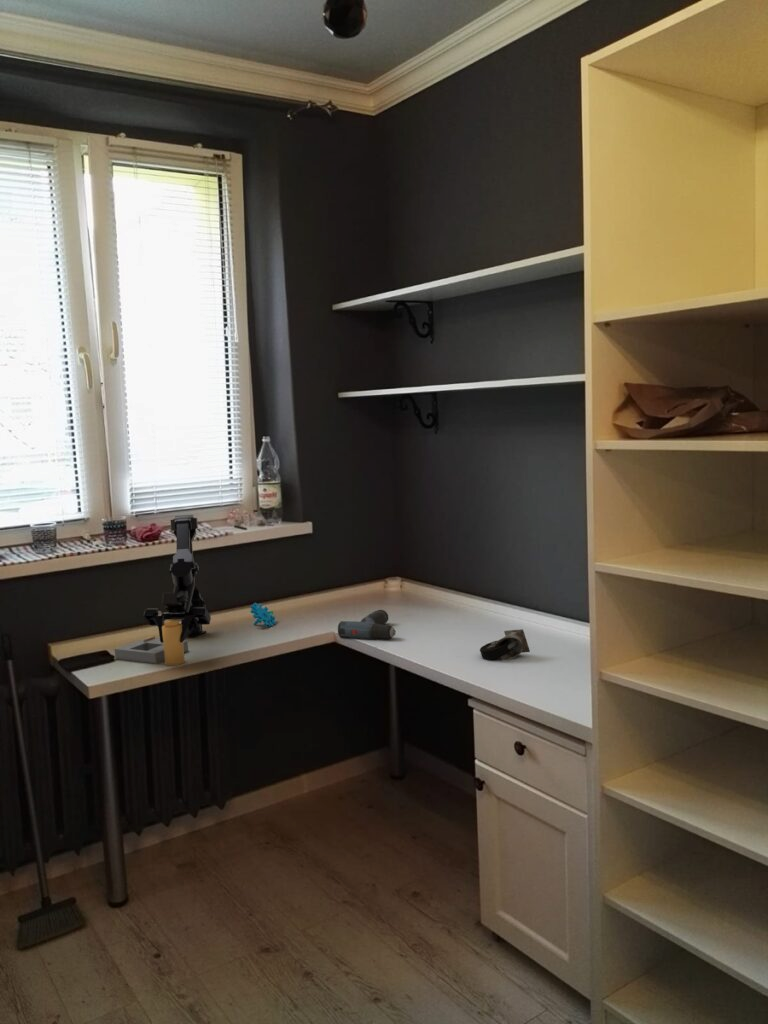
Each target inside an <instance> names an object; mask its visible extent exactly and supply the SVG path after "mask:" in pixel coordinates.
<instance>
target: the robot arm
mask: <svg viewBox="0 0 768 1024" xmlns="http://www.w3.org/2000/svg"><path fill="white" fill-rule="evenodd" d="M198 523H199V522H198V517H195V516H194V514H184V515H174V518H173V519H170V530H171V532H173V534H174V536H175V538H176V553H175V554H173V556H172V563H170V566H169V575H170V577H171V578H172V582H173V585H174V586H173V592H163V593H162V601H161V605H164V606H165V607H164V608H165V610H166V611H168V612H163V611H161V610H160V608H157V607H155V608H153V607H152V608H151V607H149V608H145V610H144V612H143V618H144V620H146V622H147V623H148V625H149V626H152V627H154V626H155V627H156V626H157V628H158V636H159V638H160V642H161V643H163V635H162V626H163V625H164V621H165V620H168V619H178V620H180V621H181V622H180V624H182V633H181V637H180V642H183V641H186V639H187V637H188V638H189V637H191V638H195V637H198V636H201V635H203V634H206V633H207V630H203V625H210V624H211V614H210V613H209V611H208V609H207V607H206V602H205V600H204V598H203V597H201V592H200V590H199V589H198V588H197V586H196V583H195V576H196V574H198V572H199V569H200V567H199V565H198V563H197V562H196V561H195V560H194V551H193V541H194V540H195V537H196V535H197V530H198V529H199V524H198ZM205 632H206V633H205ZM202 633H203V634H202Z"/></svg>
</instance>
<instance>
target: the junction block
mask: <svg viewBox="0 0 768 1024" xmlns="http://www.w3.org/2000/svg"><path fill="white" fill-rule="evenodd" d="M188 642H189V641H188V640H184V641H183V645H184V653H185V652H188V651H189V644H188ZM114 656H115V658H116V659H115V660H122V661H123V660H124V661H130V660H131V661H132V662H138V661H140V663H147V662H148V663H147V664H155V663H156V664H158V662H159V663H161V662H164V661H165V658H164V646H163V643H161V642H160V637H156V636H155V635H152V636H147V637H144V638H142V639H138V640H136V641H133V642H130V643H127V644H124V645H122V646H121V645H120V646H118V647H116V648H114ZM163 660H164V661H163ZM160 661H161V662H160ZM149 662H150V663H149Z"/></svg>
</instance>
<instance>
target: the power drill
mask: <svg viewBox="0 0 768 1024" xmlns="http://www.w3.org/2000/svg"><path fill="white" fill-rule="evenodd" d="M388 621H389V614H388V612H387V611H386V610H383V609H378V610H374V611H372V612H371V613H369V614H367V615H366V616H365V617H363V618H362V619H361V620H360V621H356V620H354V621H353V620H352V621H351V620H350V621H349V620H347V621H346V620H345V621H344V620H341V621H339V623H338V625H337V635H338V636H339V637H341V638H348V639H349V638H351V639H362V638H363V640H379V639H381V640H391V639H392V638H394V637H395V636H396V633H397V631H396V629H395V628H394V627H393V626H392V625H390V624H386V623H388Z"/></svg>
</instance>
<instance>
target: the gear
mask: <svg viewBox="0 0 768 1024" xmlns="http://www.w3.org/2000/svg"><path fill="white" fill-rule="evenodd" d="M268 610H269V607H268V606H266V605H265V606H264V607H263V604H262V603H257V602H254V603H253V604H251V605H250V612H249V613H251V614H252V617H253V618H254V619H256V620H255V621H254V622H253V624H252V625H254V626H257V624H258V623H259V624H261V623H262V622H263V626H264V627H267V626H268V627H270V626H272V627H274V625H275V624H276V619H277V618H276V617H275V616H274V615H273V614H274V613H275V611H274V610H273V609H272V610H270V611H268Z"/></svg>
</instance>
